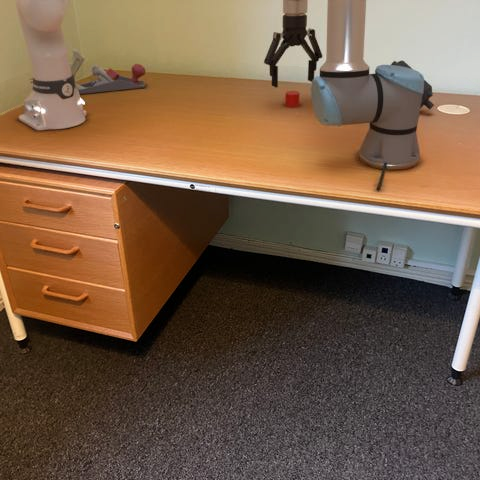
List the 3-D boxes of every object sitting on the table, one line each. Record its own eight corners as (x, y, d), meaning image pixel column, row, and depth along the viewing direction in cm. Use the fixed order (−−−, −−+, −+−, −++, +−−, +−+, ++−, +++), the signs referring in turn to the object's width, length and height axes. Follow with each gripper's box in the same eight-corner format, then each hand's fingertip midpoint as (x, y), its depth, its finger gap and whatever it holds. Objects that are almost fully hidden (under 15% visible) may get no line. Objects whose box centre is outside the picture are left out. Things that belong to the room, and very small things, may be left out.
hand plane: (62, 90, 197) (53, 48, 189) (145, 82, 205) (140, 41, 197) (62, 96, 191) (54, 53, 184) (148, 87, 199) (143, 45, 191)
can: (292, 108, 176) (292, 95, 174) (282, 104, 179) (282, 92, 177) (301, 104, 178) (302, 92, 176) (291, 101, 181) (292, 89, 179)
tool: (372, 91, 179) (399, 54, 168) (415, 128, 175) (445, 93, 164) (364, 95, 175) (390, 58, 165) (407, 134, 171) (437, 98, 160)
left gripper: (-112, -8, 101) (-87, 66, 109) (-13, -19, 115) (3, 47, 122) (-127, -10, 105) (-101, 62, 112) (-29, -20, 118) (-12, 44, 126)
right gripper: (322, 9, 171) (319, 76, 182) (253, 15, 162) (253, 85, 173) (335, 12, 165) (331, 81, 176) (264, 19, 156) (264, 91, 167)
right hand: (292, 83), depth 175 cm, fingers open, 13 cm apart
